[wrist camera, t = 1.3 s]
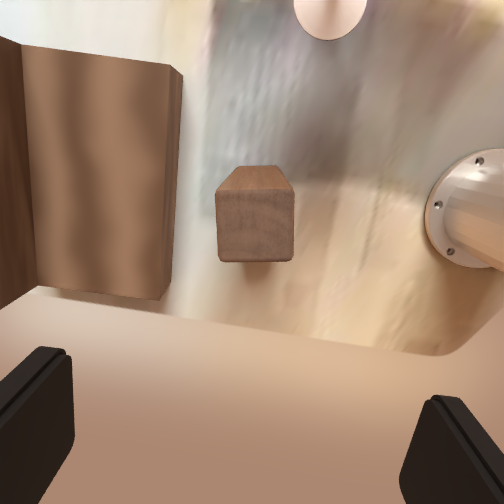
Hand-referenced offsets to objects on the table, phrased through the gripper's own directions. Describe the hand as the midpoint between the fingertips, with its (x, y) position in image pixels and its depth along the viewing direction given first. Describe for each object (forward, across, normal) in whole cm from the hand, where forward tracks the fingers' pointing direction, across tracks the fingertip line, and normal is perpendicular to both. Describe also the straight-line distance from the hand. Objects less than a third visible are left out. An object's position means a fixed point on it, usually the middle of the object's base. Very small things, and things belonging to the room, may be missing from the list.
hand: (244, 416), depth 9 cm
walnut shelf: (+30, +16, -1) cm, 34 cm away
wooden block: (+30, 0, 0) cm, 30 cm away
